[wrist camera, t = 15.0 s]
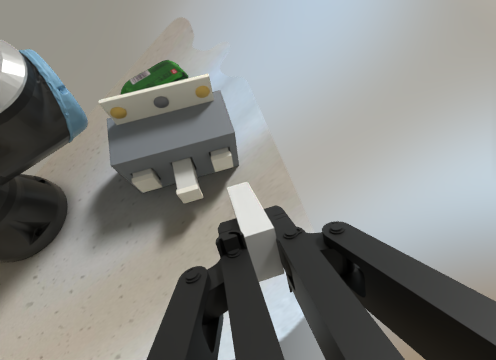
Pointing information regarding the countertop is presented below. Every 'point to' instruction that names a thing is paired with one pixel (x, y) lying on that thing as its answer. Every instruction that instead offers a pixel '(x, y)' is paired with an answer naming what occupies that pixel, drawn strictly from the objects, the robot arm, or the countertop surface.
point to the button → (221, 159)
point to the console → (172, 140)
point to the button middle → (186, 180)
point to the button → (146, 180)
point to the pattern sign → (158, 99)
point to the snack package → (155, 77)
